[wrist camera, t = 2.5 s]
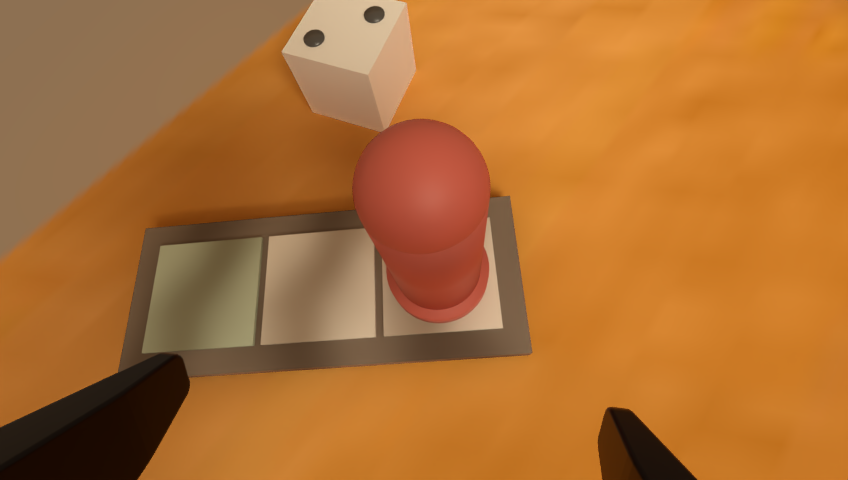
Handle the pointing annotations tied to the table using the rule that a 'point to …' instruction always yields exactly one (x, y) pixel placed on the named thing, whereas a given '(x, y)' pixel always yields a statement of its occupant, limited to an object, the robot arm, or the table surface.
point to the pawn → (427, 216)
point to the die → (353, 59)
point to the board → (306, 298)
